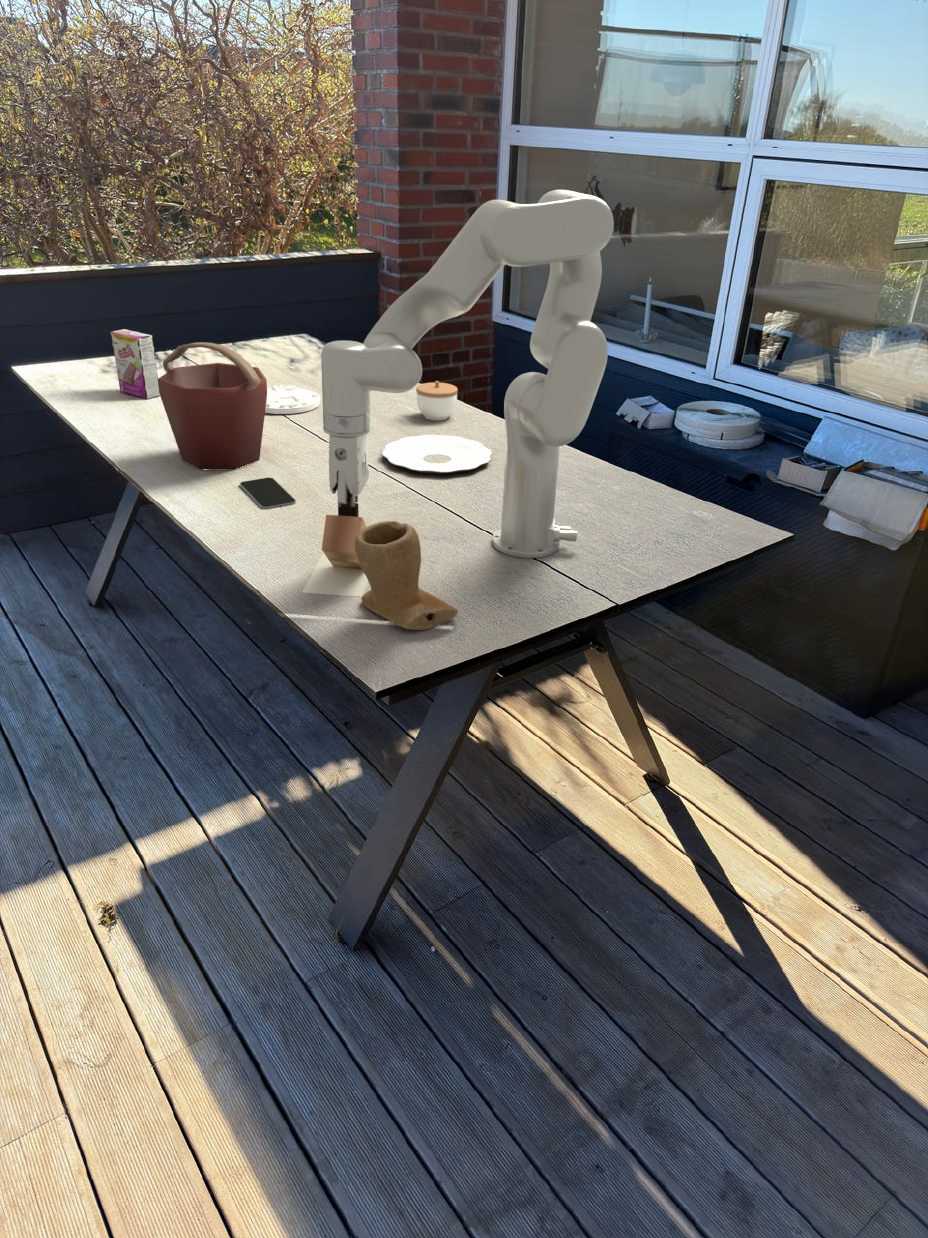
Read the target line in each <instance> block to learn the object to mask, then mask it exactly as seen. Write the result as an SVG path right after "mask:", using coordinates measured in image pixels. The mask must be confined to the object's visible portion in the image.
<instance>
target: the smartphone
mask: <svg viewBox="0 0 928 1238" xmlns="http://www.w3.org/2000/svg"><path fill="white" fill-rule="evenodd" d="M239 486H241V487H242V488H243V489H244V490H245V491H244V490H243V489H242V488H241V487H240V488H241V489H242V490H243V491H244V492H245V493H246V492H247V493H246V495H248V497H250V498H251V499H252V501H254V503H256V505H257V506H258V507H260V508H261V509H262V510H270V509H274V508H279V507H287V506H292V505H295V504H296V503H297V500H296V498H295V497H293V496H292V495H291V494H290V493H289V492H288V491H287V489H285V488H284V487H283V486H282V485H281V484H280V483H279V482H278V481H277V480H276V479H275V478H273V477H269V476H268V477H261V478H257V479H251V480H244V481H241V482H240V483H239Z"/></svg>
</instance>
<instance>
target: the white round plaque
mask: <svg viewBox="0 0 928 1238" xmlns="http://www.w3.org/2000/svg"><path fill="white" fill-rule="evenodd" d="M320 404H321V396H320V395H319V394H318V392H314V391H312V390H309V389H305V388H298V387H296V385H286V386H285V387H284V385H281V384H279V385H272V387H267V400H266V408H265V414H274V415H289V414H290V415H293V414H298V413H300V414H301V413H304V412H305V413H306V412H309V411H312V410H314V409H317V408H318V407H319V406H320Z"/></svg>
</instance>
